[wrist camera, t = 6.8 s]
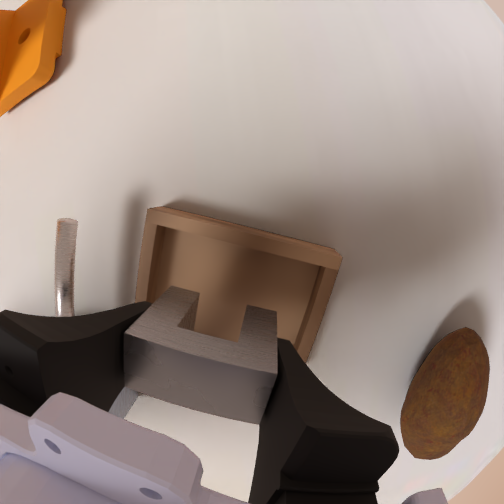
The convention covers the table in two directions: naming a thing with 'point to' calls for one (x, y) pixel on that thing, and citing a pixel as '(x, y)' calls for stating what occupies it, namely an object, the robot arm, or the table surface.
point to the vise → (65, 295)
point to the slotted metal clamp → (202, 359)
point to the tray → (237, 274)
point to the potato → (446, 395)
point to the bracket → (29, 48)
